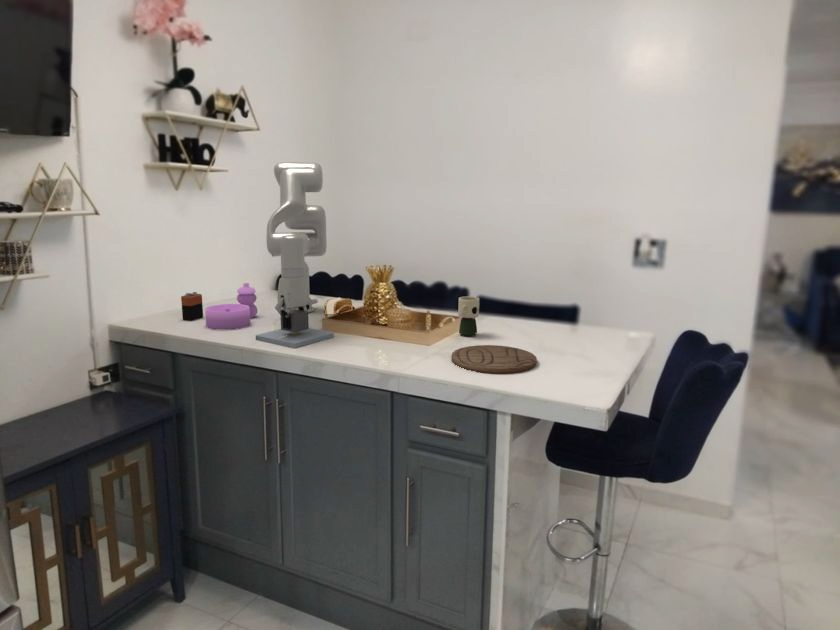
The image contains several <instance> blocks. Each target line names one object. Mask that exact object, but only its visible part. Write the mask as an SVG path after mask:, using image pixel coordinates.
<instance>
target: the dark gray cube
mask: <svg viewBox="0 0 840 630" xmlns="http://www.w3.org/2000/svg"><path fill="white" fill-rule="evenodd" d="M285 312H287V311H285ZM279 315H280V314H279ZM279 317H280V329H281V330H284V331H289V332H294V333H295V332H299V331H303V330H307V329H309V328H310V325H309V324H310V323H309V313H308V311H303V310H297V309H293V310H291V311H290V315H289V317H291V329H284V328H283V318H282V317H281V315H280V316H279Z"/></svg>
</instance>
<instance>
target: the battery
mask: <svg viewBox="0 0 840 630" xmlns="http://www.w3.org/2000/svg"><path fill="white" fill-rule="evenodd" d="M180 299H181V300H180V301H181V302H180V303H181V313H182V314H181V316H182V320H183V321H190V322H192V321H195V320H199V319H202V318H204V309H203V295H202V294H201V293H198V292H197V291H193V292H192V293H191V292H186V293H185V294H184V295H182V296H180Z"/></svg>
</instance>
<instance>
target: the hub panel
mask: <svg viewBox="0 0 840 630" xmlns="http://www.w3.org/2000/svg"><path fill="white" fill-rule="evenodd" d="M334 336H335V333H334V332H331V331H326V330H321V329H316V328H313V327H309V329H307V330H303V331H299V332H295V333H294V332H289V331H284V330H281V328H280V329H276V330H271V331H267V332H264V333H263V332H262V333H260V334H256V335H255V340H256V341H260V342H266V343H271V344H273V343H274V345H278V344H279V345H278V346H282V345H284V347H287V346H288V347H287V348H291V347H292V348H293V349H298V348H300V346H301V347H304V346H308V345H310V344H314V342H315V343H318V342H321V340H322V341H325V340H328V338H329V339H331V338H334ZM324 339H325V340H324ZM307 344H308V345H307ZM303 345H304V346H303ZM297 347H298V348H297ZM292 348H291V349H292Z"/></svg>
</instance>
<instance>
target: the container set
mask: <svg viewBox="0 0 840 630" xmlns="http://www.w3.org/2000/svg"><path fill="white" fill-rule="evenodd" d="M236 293H237V296H236V301H237V302H238V303H224V304H223V303H222V304H215V305H209V306H207V307H205V309H204V311H205V313H204V314H205V327H206V328H207V327H208V328H207V329H210V328H211V330H216V329H231V330H237V329H236V328H239V329H243V328H242V327H244V328H247V327H249V326H251V319H254V318H255V316H256V315H257V314H258V308H257V306H256V304H254V303H255V302H256V301H257V295H256V288H254V287H252V286H250V283H249V282H243V283H242V286H241V287H239V288H238V289H237V290H236ZM253 317H254V318H253ZM246 326H247V327H246Z"/></svg>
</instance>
